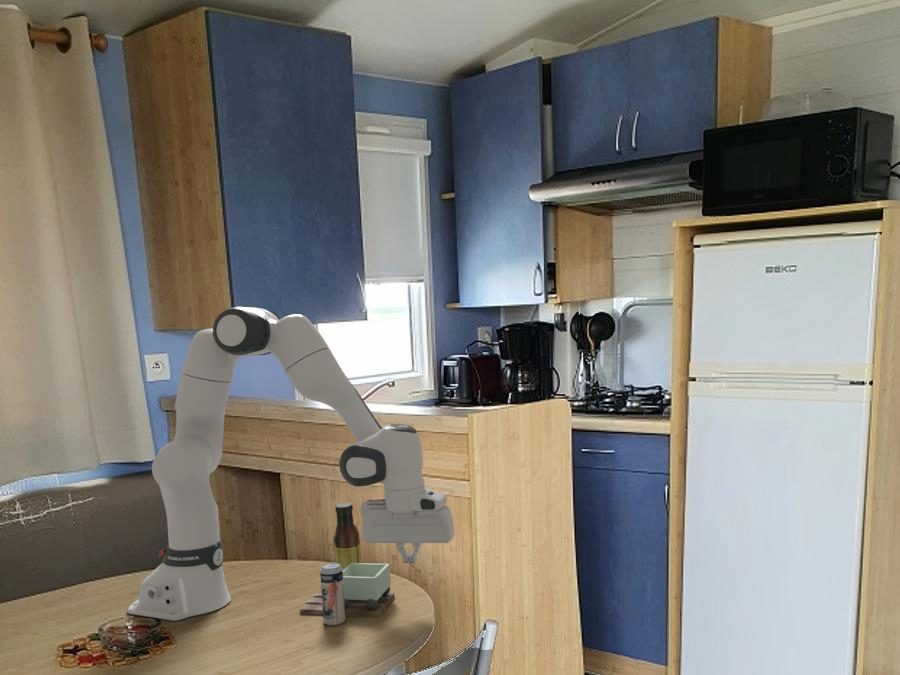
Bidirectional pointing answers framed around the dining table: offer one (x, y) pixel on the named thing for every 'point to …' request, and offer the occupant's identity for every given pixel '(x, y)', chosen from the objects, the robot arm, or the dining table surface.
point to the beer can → (332, 594)
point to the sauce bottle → (346, 537)
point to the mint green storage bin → (366, 583)
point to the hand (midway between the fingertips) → (410, 562)
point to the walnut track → (353, 609)
